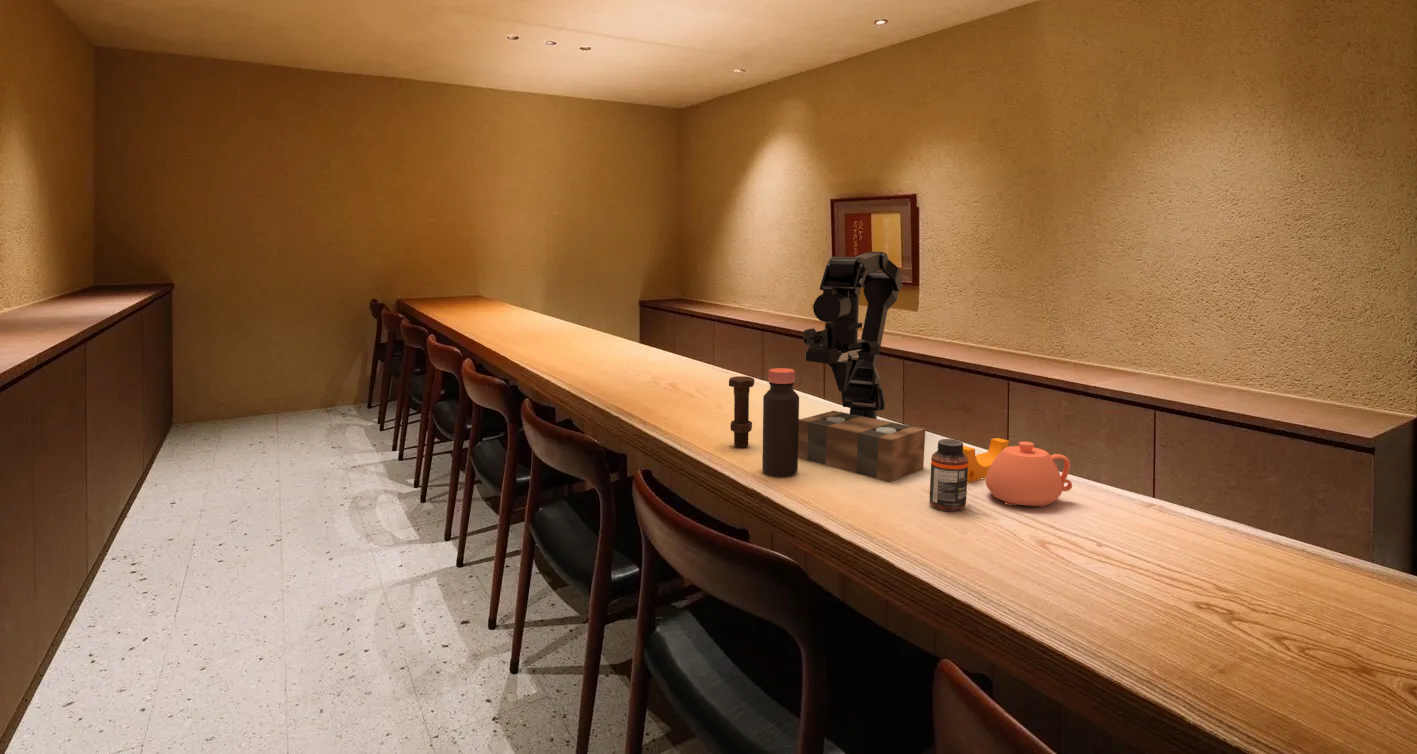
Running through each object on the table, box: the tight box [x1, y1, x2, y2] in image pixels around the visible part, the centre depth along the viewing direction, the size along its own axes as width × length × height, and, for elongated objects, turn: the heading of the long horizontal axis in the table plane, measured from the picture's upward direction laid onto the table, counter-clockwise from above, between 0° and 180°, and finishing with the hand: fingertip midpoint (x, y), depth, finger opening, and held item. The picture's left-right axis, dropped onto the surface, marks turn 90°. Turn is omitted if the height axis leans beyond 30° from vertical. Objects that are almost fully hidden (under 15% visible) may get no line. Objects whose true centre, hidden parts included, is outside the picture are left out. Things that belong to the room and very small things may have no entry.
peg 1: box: [826, 417, 845, 423], centre depth 158 cm, size 4×4×7 cm
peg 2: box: [876, 427, 896, 434], centre depth 149 cm, size 4×4×7 cm
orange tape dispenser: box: [963, 437, 1010, 483], centre depth 146 cm, size 12×4×6 cm, turn 123°
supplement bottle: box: [928, 438, 968, 512], centre depth 129 cm, size 6×6×11 cm
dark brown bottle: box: [761, 367, 800, 478], centre depth 146 cm, size 7×7×20 cm
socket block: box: [798, 410, 926, 483], centre depth 153 cm, size 12×22×8 cm, turn 44°
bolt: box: [728, 375, 755, 448], centre depth 165 cm, size 6×5×15 cm
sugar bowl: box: [985, 441, 1073, 508], centre depth 132 cm, size 12×14×10 cm
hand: (842, 391), depth 162 cm, fingers closed
